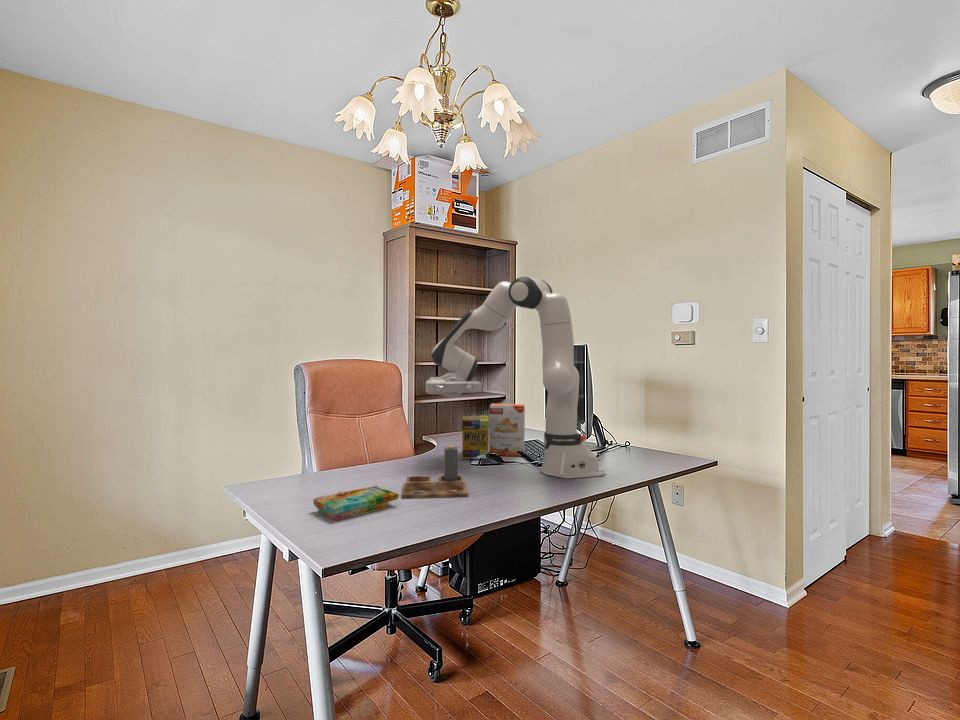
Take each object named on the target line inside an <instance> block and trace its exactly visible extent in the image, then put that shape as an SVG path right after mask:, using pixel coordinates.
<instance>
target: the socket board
mask: <svg viewBox="0 0 960 720" xmlns="http://www.w3.org/2000/svg"><path fill="white" fill-rule="evenodd" d="M469 493H470V492H469V490H468V487H467V483H466V481H465V480H464V478H463V475H462V474H458V481H444V474H442V475H438V481H432V476H431V475H409V476H408V475H407V476H406V481H405V482H403V485H402V490H401V496H400V497H401V498H402V499H430V498H429V497H442V498H468V497H469ZM401 498H400V499H401Z"/></svg>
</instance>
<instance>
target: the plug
mask: <svg viewBox="0 0 960 720" xmlns="http://www.w3.org/2000/svg"><path fill="white" fill-rule="evenodd" d="M443 449H444V454H443V455H444V464H443V465H444V469H443V470H444V473H443V475H444V481H458V475H459V471H458V469H459V468H458V465H459V464H458V463H459V461H458V459H459V458H458V457H459V456H458V454H459V453H458V452H459V451H458V447H457V446H455V445H452V444H451V445H447V446H446V447H444V448H443Z"/></svg>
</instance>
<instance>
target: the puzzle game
mask: <svg viewBox="0 0 960 720" xmlns="http://www.w3.org/2000/svg"><path fill="white" fill-rule="evenodd" d="M399 497H400V494H399V493H398V492H395V491H392V490H389V489H386V488H384V487H381V486H378V485H373V486H368V487H363V488H357V489H352V490H348V491H343V492H342V491H337V493H334V494H327V495H324V496H320V497H315V498H314V499H312V501H313V505H314V506H315V508H316V509H317V510H318V512H319V513H320V512H321V513H320V514H322V513H323V515H324V514H325V515H324V516H326V515H327V516H326V517H328V516H329V518H330V517H331V519H332V518H333V519H332V520H334V519H335V521H339V520H338V519H340V520H343V519H342V518H344V519H347V518H346V517H348V518H350V516H352V517H354V516H353V515H356V516H358V515H357V514H360V515H362V514H361V513H364V514H366V513H365V512H368V513H370V512H369V511H372V512H374V511H373V510H376V511H379V510H378V509H380V510H383V509H386V507H387V506H388V504H389V503H390V502H393V501H397V500H398V499H399ZM382 508H383V509H382Z"/></svg>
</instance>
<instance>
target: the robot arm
mask: <svg viewBox="0 0 960 720" xmlns="http://www.w3.org/2000/svg"><path fill="white" fill-rule="evenodd" d="M517 307H520V308H526V309H530V310H535V311H536V312H537V313H538V316H539V323H540V325H539V326H540V335H541V345H542V346H541V347H542V358H541V359H542V360H541V361H542V363H541V365H542V368H541V369H542V384H543V387H544V389H545V390H546V392H548V393H547V400H546V408H545V431H544V433H543V434H544V436H543V446H544V447H543V448H544V451H543V452H544V453H543V460H542V461H543V462H542V465H541V468H540V472H541V474H545V475H547V476H552V477H558V478H562V479H579V478H591V477H593V478H594V477H603V476H606V470H605V469H604V468H602V467H601V466H599V460H598V457H597V454H595V453H594V452H593V451H592V450H591V449H590V448H588V447H587V446H586V445H584V444H583V442H586V441H587V437H586V436H585V435H583V434H580V433H579V432H578V430H577V429H578V406H579V405H578V403H579V395H580V394H579V393H580V391H579V389H580V373H579V371H578V369H577V368H576V366H575V360H574V354H575V353H574V352H575V351H574V346H575V343H574V334H573V333H574V332H573V324H572V315H571V311H570V306H569V303H568V300H567V298H566V296H565V295H564V294H562V293H558V292H553V289H552V286H550V284H548V282H546V281H545V280H541V279H538V278H536V277H531V276H529V277H528V276H520V277H517V278H515V279H514V280H513V281H511V282H509V281H506V280H505V281H504V280H503V281H500V282H498V283H497V284H496V285H495V286H494V288H493V289H492V290H491V292H489V294H488V296H487V297H486V299H485V300H484V302H483V303H482V304H481V305H480V306H479V307H477V308H475V309H470V310H468V311H467V312H466V313H465V314H464V315H463V316H462V317H461V318H460V319H459V320H458V321H457V322H456V323H455V325H454V326H453V327H452V328H451V329H450V330H449V331H448V333H446V335H445V336H444V337H443V338H442V339H441V340H440V341H439V342H438V343H437V344H436V345H435V346H434V347H433V349H432V350H431V354H430V355H431V356H430V357H431V359H432V362H433V363H434V364H435V365H436V366H439V367H441V368H444V369H446V370H447V371H449V372H447V373H445V374H444V375H439V376H430V377H429V379H427V380H426V381H425V393H427V394H429V395H433V396H434V395H435V396H444V397H448V398H457V397H460V396H461V395H462V394H463V393H481V392H482V382H480V381H478V380H477V381H475V380H472V379H473V377H474V376H475V374H476V372H477V369H478V360H477V358H476V356H474V355H472V354H471V353H469V352H467V351H465V350H463V349H462V348H460V347H458V346H456V344H454V343H455V342H456V340H458V339H459V337H460V336H461V335H462V334H463V333H464V332H465V331H466V330H469V329H478V330H482V331H497V330H500V329H501V328H503V326H504V325H505V324H506V323H507V321H508V320H509V318H510V317H511V315H512V313H513V312H514V310H515V309H516V308H517Z"/></svg>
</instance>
